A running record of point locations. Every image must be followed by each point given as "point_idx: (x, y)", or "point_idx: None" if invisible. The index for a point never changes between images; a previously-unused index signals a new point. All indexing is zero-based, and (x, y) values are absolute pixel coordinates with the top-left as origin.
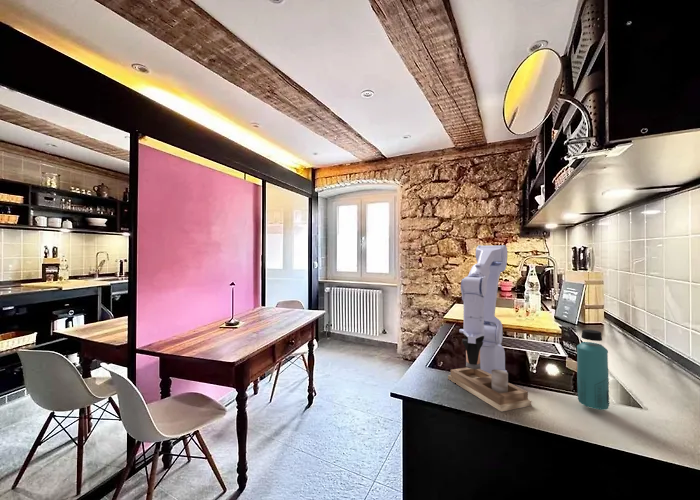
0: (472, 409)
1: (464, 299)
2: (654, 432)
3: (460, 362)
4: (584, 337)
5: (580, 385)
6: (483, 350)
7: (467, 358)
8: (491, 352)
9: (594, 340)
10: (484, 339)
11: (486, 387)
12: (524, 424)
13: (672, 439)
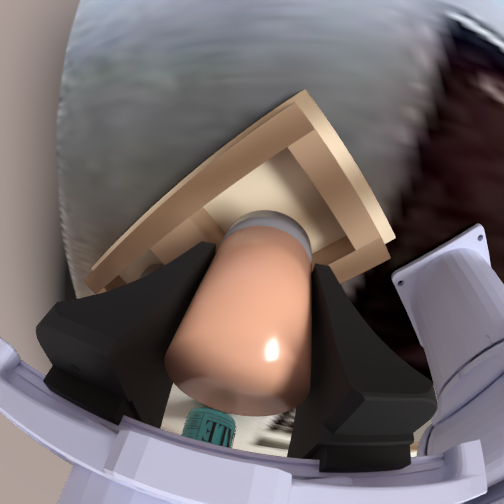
0: (70, 188)
1: None
2: (176, 421)
3: None
4: None
5: (192, 438)
6: (449, 352)
7: (226, 247)
8: (431, 372)
9: None
10: (474, 407)
11: (125, 259)
12: (78, 289)
13: (168, 423)
